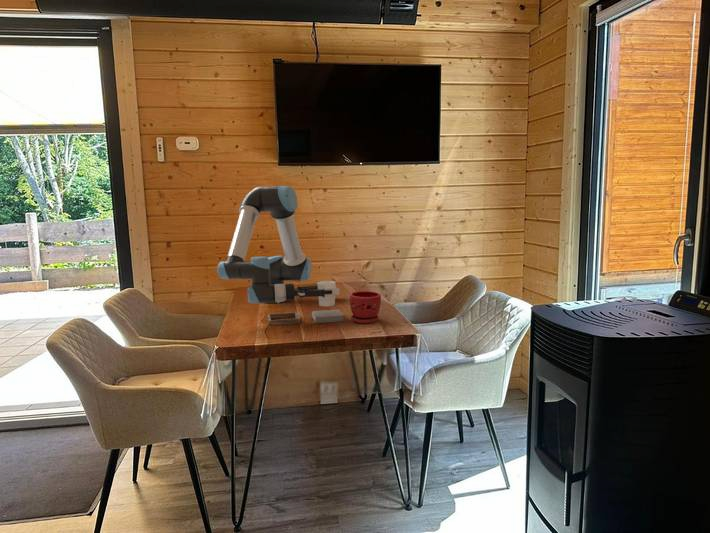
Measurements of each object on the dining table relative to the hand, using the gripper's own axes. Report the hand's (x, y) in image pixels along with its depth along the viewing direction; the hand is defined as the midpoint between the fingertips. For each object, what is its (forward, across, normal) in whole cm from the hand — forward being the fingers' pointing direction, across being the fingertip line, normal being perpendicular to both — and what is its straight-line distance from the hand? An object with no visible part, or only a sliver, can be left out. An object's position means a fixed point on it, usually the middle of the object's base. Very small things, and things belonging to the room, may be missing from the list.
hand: (337, 289), depth 209 cm
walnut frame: (-24, -2, -13) cm, 27 cm away
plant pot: (+10, +9, -13) cm, 19 cm away
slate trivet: (-5, 0, -13) cm, 14 cm away
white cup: (-5, 0, -7) cm, 8 cm away
